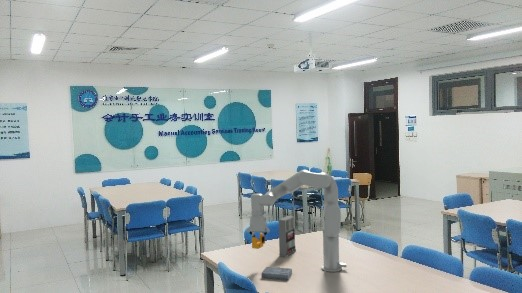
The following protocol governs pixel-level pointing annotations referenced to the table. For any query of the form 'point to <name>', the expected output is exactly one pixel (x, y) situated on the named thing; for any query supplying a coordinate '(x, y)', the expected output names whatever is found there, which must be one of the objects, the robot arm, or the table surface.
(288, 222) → the cassette tape recorder
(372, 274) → the table surface
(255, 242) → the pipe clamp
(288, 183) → the robot arm
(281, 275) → the slate stand
